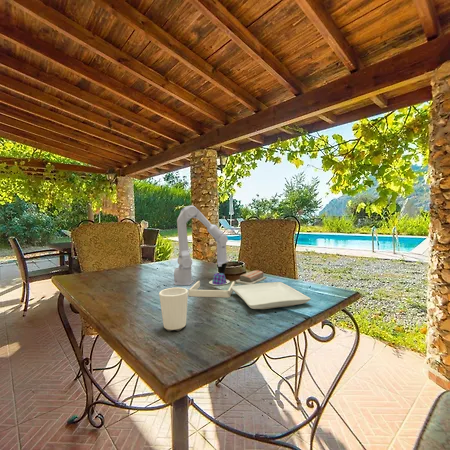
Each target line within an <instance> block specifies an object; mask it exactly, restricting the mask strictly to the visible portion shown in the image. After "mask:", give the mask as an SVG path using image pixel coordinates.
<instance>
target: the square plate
mask: <svg viewBox="0 0 450 450" xmlns="http://www.w3.org/2000/svg"><path fill="white" fill-rule="evenodd" d="M231 288H232V289H233V292H234V293H235V294H236V295H237V296H239V298H241V299H242V300H243V301H244V302H245V303H246V305H247V306H248V307H249V308H250V309H253V310H267V309H275V308H283V307H284V308H285V307H293V306H296V305H302V304H306V303H309V302H310V301H311V300H312V298H311V297H309V296H307V295H306V294H303V293H302V292H300V291H299V290H296V289H295V288H293V287H292V286H289V285H288V284H285V283H283V282H282V281H276V282H275V281H274V282H260V283H259V282H257V283H254V284H248V285H246V284H242V285H241V284H240V285H235V286H232V287H231Z"/></svg>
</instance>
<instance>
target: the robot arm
mask: <svg viewBox="0 0 450 450" xmlns="http://www.w3.org/2000/svg"><path fill="white" fill-rule="evenodd" d="M192 218H193V219H197V220H198V221H199V222H200V223H201V224H203V226H204V227H205V228H206V231H207V232H208V233H209V234H210V236H212V238H214V241H215V243H216V260H217V261H216V263H217V264H216V267H217V269H218V273H223V274H224V275H225V273H226V268H227V266H228V263H229V260H228V258H227V256H228V255H227V254H228V253H227V242H228V241H229V238H228V236H227V235H226V234H224V233H223V231H222V230H220V228H219V226H218V225H217V224H214V223H213V224H212V223H211V222H210V221H209V220H208V218H207V217H206V216H205V215H204V214H203V213H202V212H201V210H200V209H198V208H197V207H196V206H194V205H187V206H186V205H185V206H184V207H183V208H182V209H181V210H180V212H179V215H178V217H177V218H176V226H177V236H178V237H177V238H178V239H177V240H178V250H179V251H178V258H177V264H178V267H176V268H174V271H173V275H174V276H173V280H174V281H173V285H175V286H176V285H177V286H191V285H193V283H194V282H195V280H193V279H192V277H193V276H192V275H193V274H192V265H193V260H192V259H191V254H190V251H189V239H188V228H187V223H188V222H189V221H190V220H191V219H192ZM225 276H226V275H225Z"/></svg>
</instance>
